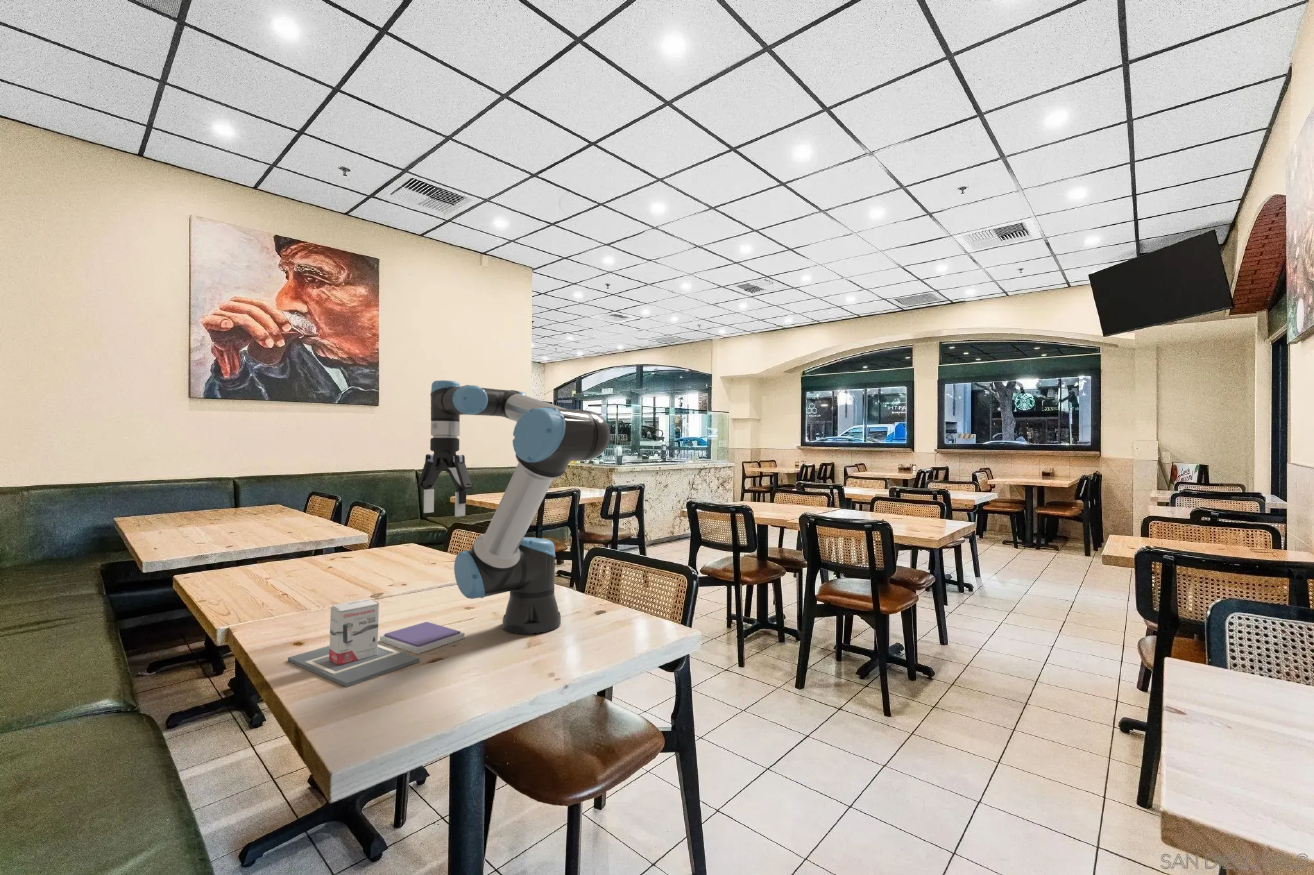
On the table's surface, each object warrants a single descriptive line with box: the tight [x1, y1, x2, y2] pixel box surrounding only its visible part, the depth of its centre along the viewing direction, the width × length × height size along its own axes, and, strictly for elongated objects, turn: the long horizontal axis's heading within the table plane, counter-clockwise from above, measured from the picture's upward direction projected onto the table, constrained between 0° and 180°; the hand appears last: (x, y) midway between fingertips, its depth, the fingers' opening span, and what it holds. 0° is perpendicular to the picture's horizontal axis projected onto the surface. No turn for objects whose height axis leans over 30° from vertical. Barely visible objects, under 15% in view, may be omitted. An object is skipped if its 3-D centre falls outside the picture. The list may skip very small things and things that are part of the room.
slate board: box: [287, 643, 420, 688], centre depth 125 cm, size 24×16×1 cm, turn 57°
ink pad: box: [379, 621, 466, 655], centre depth 139 cm, size 15×13×2 cm
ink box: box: [329, 598, 380, 665], centre depth 125 cm, size 9×5×12 cm, turn 140°
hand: (444, 514), depth 156 cm, fingers open, 13 cm apart
